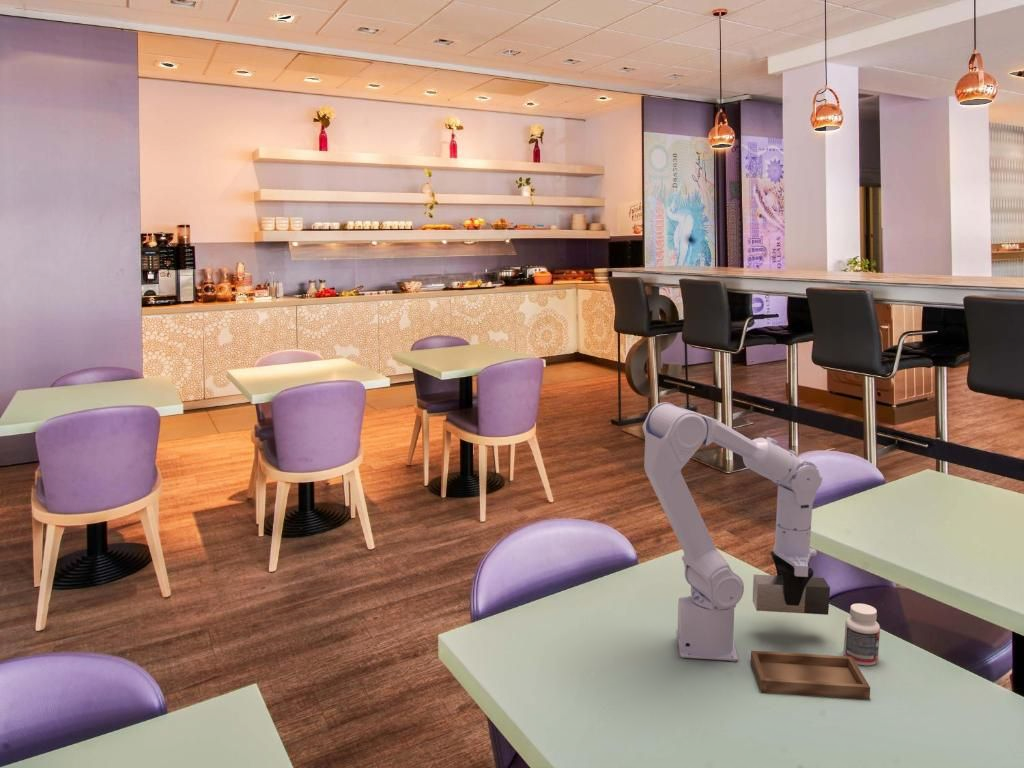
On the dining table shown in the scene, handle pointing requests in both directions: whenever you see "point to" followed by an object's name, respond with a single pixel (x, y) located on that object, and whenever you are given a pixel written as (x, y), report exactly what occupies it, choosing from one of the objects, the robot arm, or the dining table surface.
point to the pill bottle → (862, 635)
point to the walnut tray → (809, 675)
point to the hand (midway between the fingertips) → (789, 598)
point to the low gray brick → (772, 597)
